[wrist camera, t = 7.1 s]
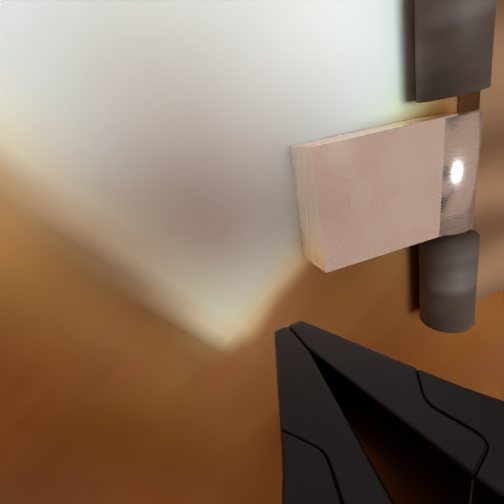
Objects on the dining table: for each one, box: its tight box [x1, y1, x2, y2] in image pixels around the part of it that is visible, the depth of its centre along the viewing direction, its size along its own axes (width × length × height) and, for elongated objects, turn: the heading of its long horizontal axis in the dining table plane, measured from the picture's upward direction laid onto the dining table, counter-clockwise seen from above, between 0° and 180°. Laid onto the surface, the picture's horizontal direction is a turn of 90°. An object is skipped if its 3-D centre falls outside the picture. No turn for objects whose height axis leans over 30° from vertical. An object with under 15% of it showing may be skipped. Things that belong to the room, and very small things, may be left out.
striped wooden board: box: [414, 0, 504, 333], centre depth 20 cm, size 23×12×4 cm, turn 14°
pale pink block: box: [290, 109, 484, 273], centre depth 19 cm, size 7×11×4 cm, turn 101°
